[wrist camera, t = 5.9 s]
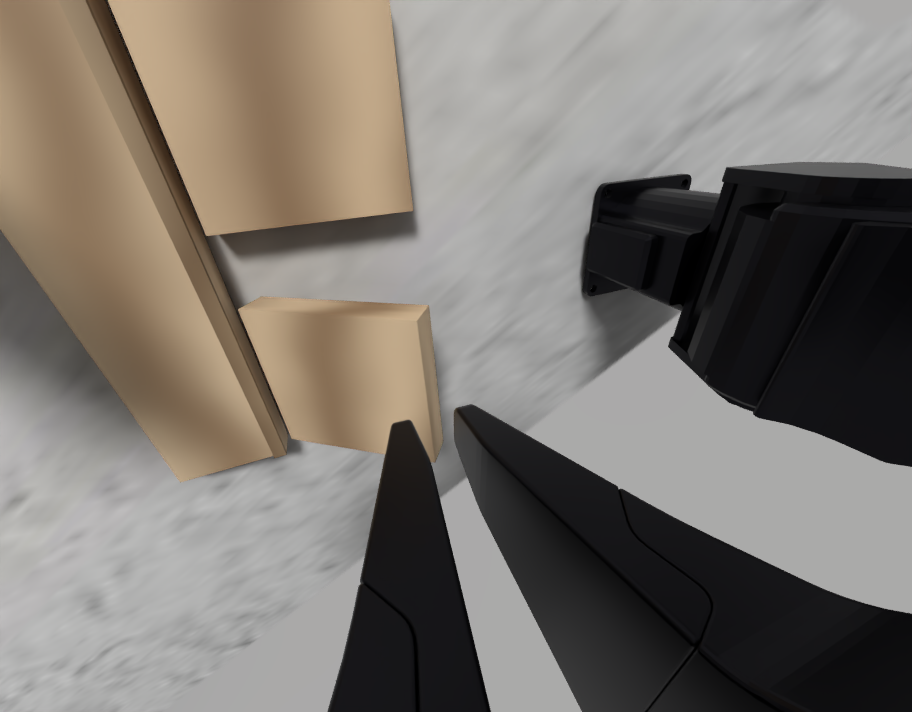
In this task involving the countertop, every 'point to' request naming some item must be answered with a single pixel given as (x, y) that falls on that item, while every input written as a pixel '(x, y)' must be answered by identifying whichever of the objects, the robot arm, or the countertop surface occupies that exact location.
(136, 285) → the laid board
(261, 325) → the plank
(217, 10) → the plank
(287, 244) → the countertop surface
